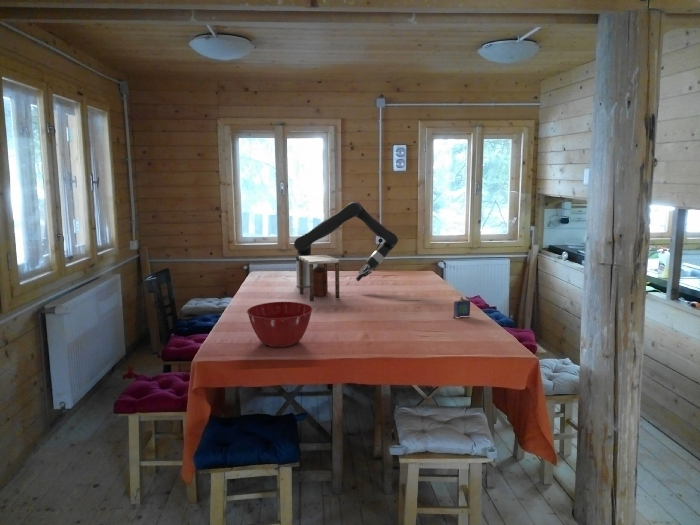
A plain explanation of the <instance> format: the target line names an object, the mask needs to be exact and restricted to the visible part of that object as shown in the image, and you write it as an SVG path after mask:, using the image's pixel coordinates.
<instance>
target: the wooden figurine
mask: <svg viewBox="0 0 700 525" xmlns="http://www.w3.org/2000/svg"><path fill="white" fill-rule="evenodd" d="M325 272H326V270H325V269H324V266H315V267H313V276H314V297H315V296H316V297H323V296H326V297H327V296H328V292H327V283H326V282H327V278H326V273H325Z"/></svg>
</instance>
